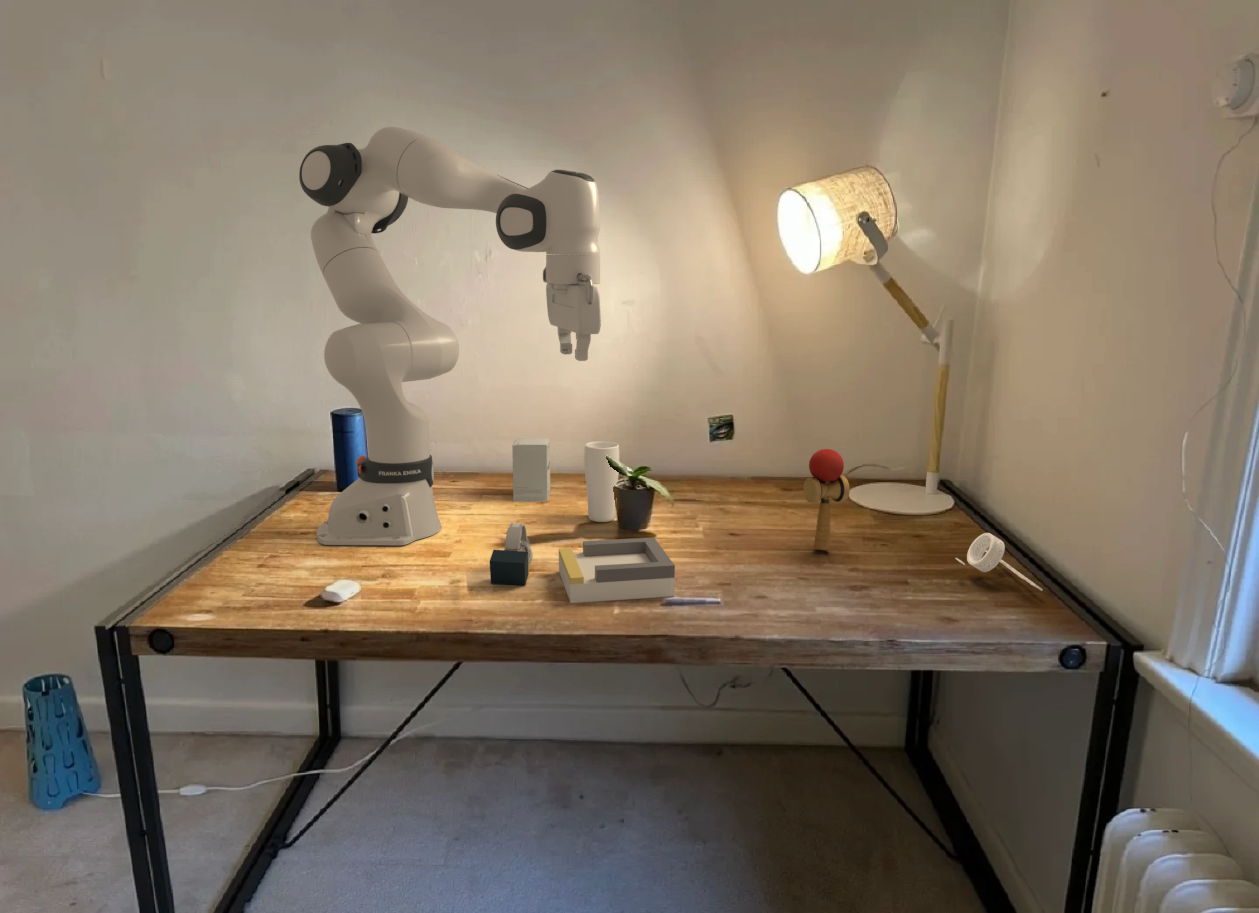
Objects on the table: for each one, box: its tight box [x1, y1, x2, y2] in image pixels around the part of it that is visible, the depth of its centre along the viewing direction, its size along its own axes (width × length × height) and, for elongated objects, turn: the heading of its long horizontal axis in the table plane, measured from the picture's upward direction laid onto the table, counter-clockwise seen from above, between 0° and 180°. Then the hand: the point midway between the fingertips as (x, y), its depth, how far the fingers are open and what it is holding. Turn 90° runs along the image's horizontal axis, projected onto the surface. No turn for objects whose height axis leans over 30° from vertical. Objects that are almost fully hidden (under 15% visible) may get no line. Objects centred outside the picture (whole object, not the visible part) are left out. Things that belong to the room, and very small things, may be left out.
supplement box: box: [511, 437, 551, 503], centre depth 192 cm, size 7×7×13 cm
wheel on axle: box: [955, 532, 1044, 592], centre depth 151 cm, size 18×10×6 cm
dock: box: [558, 536, 676, 604], centre depth 145 cm, size 16×14×5 cm
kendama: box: [802, 448, 851, 551], centre depth 162 cm, size 8×6×18 cm
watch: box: [489, 522, 534, 586], centre depth 148 cm, size 6×8×11 cm
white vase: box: [583, 440, 620, 523], centre depth 178 cm, size 7×7×15 cm
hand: (573, 357), depth 153 cm, fingers open, 8 cm apart
